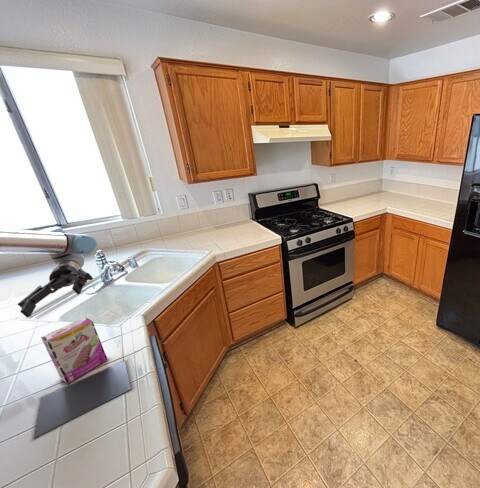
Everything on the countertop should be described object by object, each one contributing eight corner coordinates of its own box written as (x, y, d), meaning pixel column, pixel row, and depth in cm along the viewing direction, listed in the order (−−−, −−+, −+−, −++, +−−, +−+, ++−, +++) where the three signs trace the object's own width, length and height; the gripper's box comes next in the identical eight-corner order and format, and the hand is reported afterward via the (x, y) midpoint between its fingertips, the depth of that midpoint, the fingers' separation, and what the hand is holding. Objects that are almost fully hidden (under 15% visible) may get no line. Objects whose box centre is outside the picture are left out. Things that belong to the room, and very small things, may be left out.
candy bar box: (68, 385, 80) (46, 341, 75) (60, 380, 83) (39, 337, 77) (109, 360, 90) (92, 319, 84) (101, 355, 92) (84, 316, 87)
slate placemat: (34, 438, 65) (34, 437, 65) (41, 398, 76) (41, 397, 76) (131, 389, 77) (130, 389, 77) (124, 361, 89) (124, 360, 89)
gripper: (108, 265, 107) (103, 290, 90) (33, 298, 97) (12, 332, 81) (95, 250, 103) (88, 273, 86) (16, 283, 93) (-10, 316, 77)
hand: (51, 302), depth 84 cm, fingers open, 13 cm apart
